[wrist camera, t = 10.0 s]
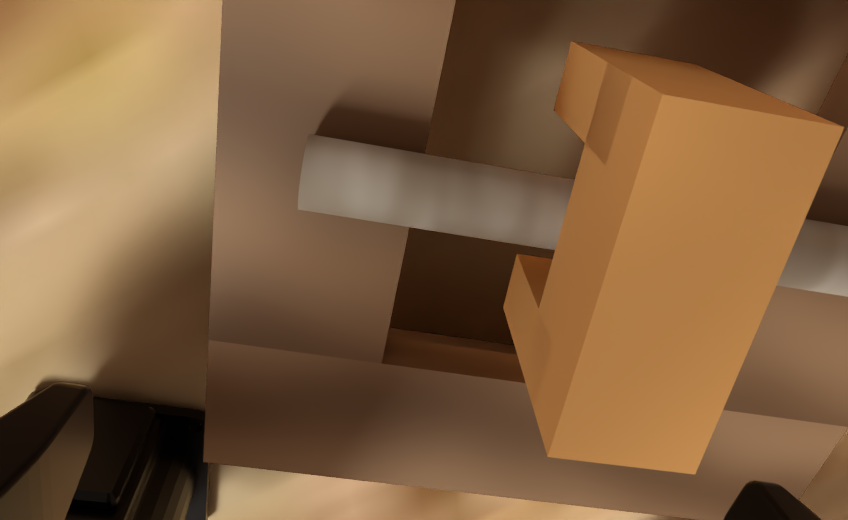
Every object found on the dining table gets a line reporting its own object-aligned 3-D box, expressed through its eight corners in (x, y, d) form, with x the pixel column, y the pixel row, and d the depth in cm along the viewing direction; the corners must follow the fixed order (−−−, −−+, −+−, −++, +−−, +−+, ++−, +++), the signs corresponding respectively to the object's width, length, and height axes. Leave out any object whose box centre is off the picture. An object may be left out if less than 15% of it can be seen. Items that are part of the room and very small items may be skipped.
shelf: (719, 417, 27) (802, 574, 21) (238, 352, 25) (188, 507, 19) (1059, -202, 17) (1394, -220, 11) (291, -399, 15) (218, -545, 9)
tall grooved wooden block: (609, 322, 19) (695, 474, 14) (503, 307, 19) (547, 457, 13) (694, 63, 16) (844, 127, 11) (571, 41, 16) (662, 93, 11)
